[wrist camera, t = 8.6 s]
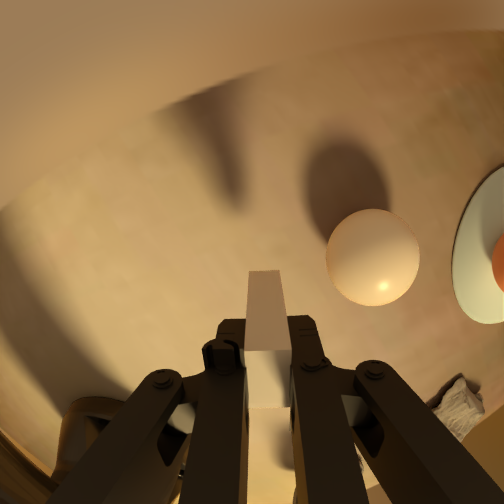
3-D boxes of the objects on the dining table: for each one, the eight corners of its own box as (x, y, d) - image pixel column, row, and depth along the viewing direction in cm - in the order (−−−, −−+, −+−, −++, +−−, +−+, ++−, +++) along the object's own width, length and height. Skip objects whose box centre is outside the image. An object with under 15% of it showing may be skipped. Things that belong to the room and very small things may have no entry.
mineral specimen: (379, 442, 29) (385, 472, 25) (455, 372, 24) (470, 403, 20) (417, 448, 29) (424, 476, 25) (488, 384, 24) (502, 412, 20)
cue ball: (381, 340, 15) (378, 302, 20) (448, 260, 13) (427, 238, 18) (299, 281, 16) (314, 255, 21) (362, 192, 14) (361, 187, 19)
